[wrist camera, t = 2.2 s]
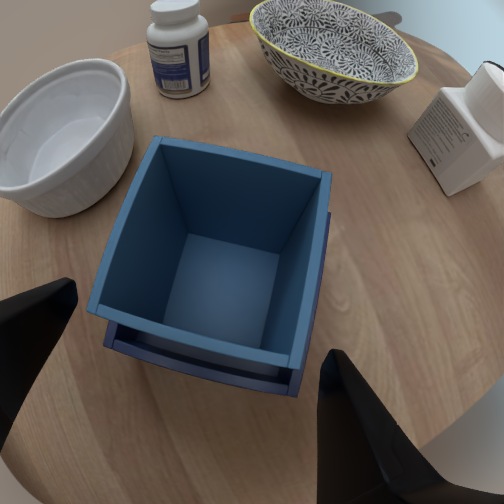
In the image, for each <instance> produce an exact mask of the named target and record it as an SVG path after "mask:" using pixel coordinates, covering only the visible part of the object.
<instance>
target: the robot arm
mask: <svg viewBox="0 0 504 504" xmlns="http://www.w3.org/2000/svg"><path fill="white" fill-rule="evenodd" d="M77 304H78V294H77V288H76V283H75V281H74V280H72V279H69V278H66V277H65V278H62V279H59V280H56V281H53V282H50V283H48V284H45V285H42V286H39V287H37V288H34V289H31V290H28V291H26V292H23V293H20V294H18V295H15V296H12V297H10V298H7V299H4V300H2V301H0V452H1V450H2V447H3V445H4V443H5V440H6V438H7V436H8V434H9V431H10V429H11V427H12V425H13V422H14V420H15V418H16V416H17V414H18V412H19V410H20V408H21V406H22V404H23V402H24V400H25V398H26V396H27V394H28V393H29V391H30V389H31V387H32V385H33V383H34V381H35V380H36V378H37V376H38V374H39V372H40V371H41V369H42V367H43V365H44V364H45V362H46V360H47V359H48V357H49V355H50V354H51V352H52V350H53V349H54V347H55V345H56V344H57V342H58V340H59V339H60V337H61V335H62V333H63V331H64V329H65V327H66V325H67V323H68V321H69V319H70V317H71V316H72V314H73V312H74V310H75V308H76V306H77ZM317 504H504V495H500V494H492V493H488V492H483V491H478V490H474V489H470V488H465V487H462V486H458V485H455V484H452V483H450V482H448V481H447V480H445V479H444V478H443V477H442V476H441V475H440V474H439V473H438V472H437V471H436V470H435V469H434V468H433V467H432V465H431V464H430V463H429V462H428V461H427V460H426V459H425V458H424V457H423V455H421V453H420V452H419V451H418V450H417V448H416V447H415V446H414V445H413V444H412V442H411V441H410V440H409V439H408V437H407V436H406V435H405V433H404V432H403V431H402V429H401V428H400V427H399V425H397V423H396V421H395V420H394V418H393V417H392V416H391V414H390V413H389V412H388V410H387V409H386V407H385V406H384V405H383V403H382V402H381V401H380V399H379V398H378V397H377V395H376V394H375V393H374V391H373V390H372V388H371V387H370V386H369V384H368V383H367V382H366V380H365V379H364V378H363V376H362V375H361V374H360V372H359V371H358V370H357V368H356V367H355V366H354V364H353V363H352V361H351V360H350V359H349V357H348V356H347V355H346V353H345V352H344V351H343V350H338V349H331V350H330V351H329V353H328V355H327V356H326V358H325V360H324V362H323V363H322V366H321V369H320V380H319V392H318V402H317Z"/></svg>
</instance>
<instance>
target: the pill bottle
mask: <svg viewBox="0 0 504 504" xmlns="http://www.w3.org/2000/svg"><path fill="white" fill-rule="evenodd" d="M150 10H151V18H152V21H153V23H152V24H151V25H150V26H149V28H148V29H147V32H146V37H147V43H148V48H149V53H150V58H151V63H152V67H153V72H154V77H155V81H156V85H157V88H158V90H159V92H160V93H161V94H163V95H164V96H167V97H170V98H186V97H190V96H193V95H195V94H197V93H199V92H201V91H202V90H204V89H205V88H206V86H207V85H208V83H209V81H210V66H209V31H208V23H207V21H206V19H205V18H204V17H202V16H201V15H199V12H200V4H199V0H158V1H156V2H154V3H153V4H152V5H151V6H150Z"/></svg>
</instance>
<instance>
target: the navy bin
mask: <svg viewBox="0 0 504 504" xmlns="http://www.w3.org/2000/svg"><path fill="white" fill-rule="evenodd" d="M330 217H331V213H330V212H328V213H327V221H326V228H325V236H324V243H323V249H322V256H321V262H320V268H319V275H318V280H317V286H316V292H315V298H314V303H313V309H312V314H311V319H310V324H309V329H308V334H307V339H306V344H305V349H304V353H303V358H302V362H301V367H300V370H295V369H290V368H284V367H279V366H274V365H269V364H264V363H259V362H254V361H250V360H245V359H241V358H236V357H232V356H228V355H223V354H219V353H215V352H211V351H208V350H204V349H200V348H196V347H193V346H189V345H185V344H182V343H178V342H175V341H171V340H168V339H165V338H161V337H158V336H155V335H152V334H149V333H145V332H142V331H139V330H136V329H133V328H130V327H127V326H124V325H122V324H119V323H116V322H113V321H110V320H109V323H108V327H107V331H106V335H105V339H104V343H103V346H105V347H107V348H110V349H113V350H115V351H118V352H120V353H123V354H126V355H129V356H131V357H134V358H137V359H140V360H143V361H146V362H149V363H152V364H155V365H158V366H161V367H165V368H168V369H171V370H175V371H178V372H181V373H185V374H188V375H192V376H196V377H199V378H203V379H207V380H211V381H215V382H219V383H223V384H228V385H232V386H237V387H241V388H246V389H251V390H256V391H261V392H266V393H272V394H277V395H283V396H289V397H296V398H297V397H298V393H299V389H300V385H301V380H302V376H303V372H304V367H305V363H306V358H307V353H308V349H309V344H310V339H311V334H312V329H313V324H314V319H315V314H316V308H317V303H318V297H319V291H320V285H321V279H322V273H323V267H324V261H325V254H326V247H327V240H328V233H329V225H330Z"/></svg>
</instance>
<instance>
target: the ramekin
mask: <svg viewBox="0 0 504 504" xmlns="http://www.w3.org/2000/svg"><path fill="white" fill-rule="evenodd" d="M129 103H130V87H129V83H128V80H127V78H126V75H125V73H124V71H123V69H122V68H121V67H120V66H118V65H117V64H116V63H114V62H112V61H109V60H105V59H85V60H79V61H74V62H71V63H68V64H65V65H62V66H60V67H58V68H56V69H53V70H51V71H50V72H48V73H46V74H44V75H42V76H41V77H39V78H38V79H36V80H35V81H33V82H32V83H31V84H29V85H28V86H27V87H26V88H25V89H23V90H22V91H21V92H20V93H19V94H18V95H17V96H16V97H15V98H14V99H13V100H12V101H11V102H10V103H9V104H8V105H7V106H6V108H5V109H4V110H3V111H2V113H1V114H0V196H1V197H3V198H5V199H9V200H12V201H14V202H16V203H17V204H19V205H20V206H22V207H24V208H26V209H27V210H29V211H31V212H33V213H35V214H38V215H41V216H44V217H52V218H58V217H65V216H70V215H73V214H76V213H78V212H80V211H82V210H85V209H87V208H88V207H90V206H91V205H93V204H95V203H96V202H97V201H98V200H100V199H101V198H102V197H103V196H104V195H105V194H106V193H108V192H109V191H110V189H111V188H112V187H113V186H114V185H115V184H116V183H117V181H118V180H119V179H120V177H121V176H122V174H123V173H124V170H125V168H126V167H127V165H128V163H129V159H130V157H131V154H132V150H133V143H134V129H133V121H132V116H131V109H130V104H129Z"/></svg>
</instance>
